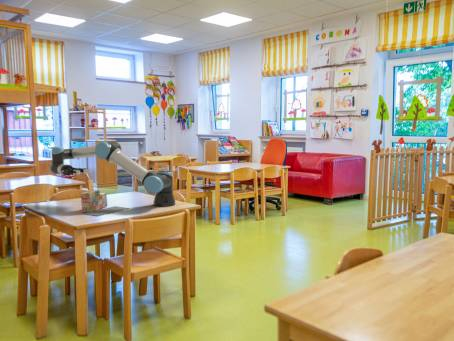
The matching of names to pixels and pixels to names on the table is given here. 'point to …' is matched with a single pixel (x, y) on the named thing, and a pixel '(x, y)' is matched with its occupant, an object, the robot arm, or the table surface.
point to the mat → (106, 211)
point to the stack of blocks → (93, 200)
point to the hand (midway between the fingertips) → (84, 172)
